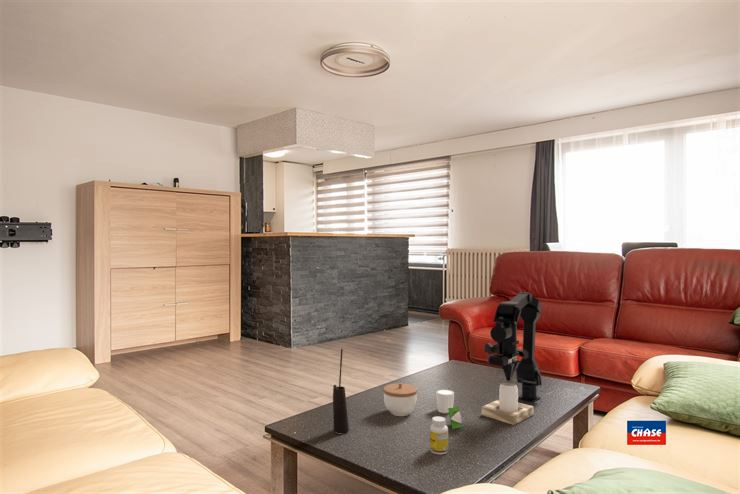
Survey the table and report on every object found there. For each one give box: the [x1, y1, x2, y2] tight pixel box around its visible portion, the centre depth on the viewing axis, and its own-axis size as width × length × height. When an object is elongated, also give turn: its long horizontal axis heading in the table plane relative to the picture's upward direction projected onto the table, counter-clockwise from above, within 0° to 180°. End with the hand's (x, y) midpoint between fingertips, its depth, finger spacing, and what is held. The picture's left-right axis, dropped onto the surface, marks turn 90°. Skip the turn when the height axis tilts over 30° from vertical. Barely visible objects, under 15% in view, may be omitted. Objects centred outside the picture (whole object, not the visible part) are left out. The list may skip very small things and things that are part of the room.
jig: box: [481, 399, 535, 426], centre depth 169 cm, size 14×13×3 cm
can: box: [498, 380, 519, 413], centre depth 167 cm, size 6×6×12 cm
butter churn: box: [332, 348, 350, 434], centre depth 155 cm, size 9×10×28 cm
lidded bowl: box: [382, 382, 418, 417], centre depth 171 cm, size 13×13×11 cm
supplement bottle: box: [429, 416, 449, 455], centre depth 139 cm, size 5×5×10 cm
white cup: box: [435, 389, 455, 414], centre depth 173 cm, size 7×7×7 cm
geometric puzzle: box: [444, 406, 467, 430], centre depth 158 cm, size 7×7×8 cm
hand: (508, 380), depth 167 cm, fingers closed
